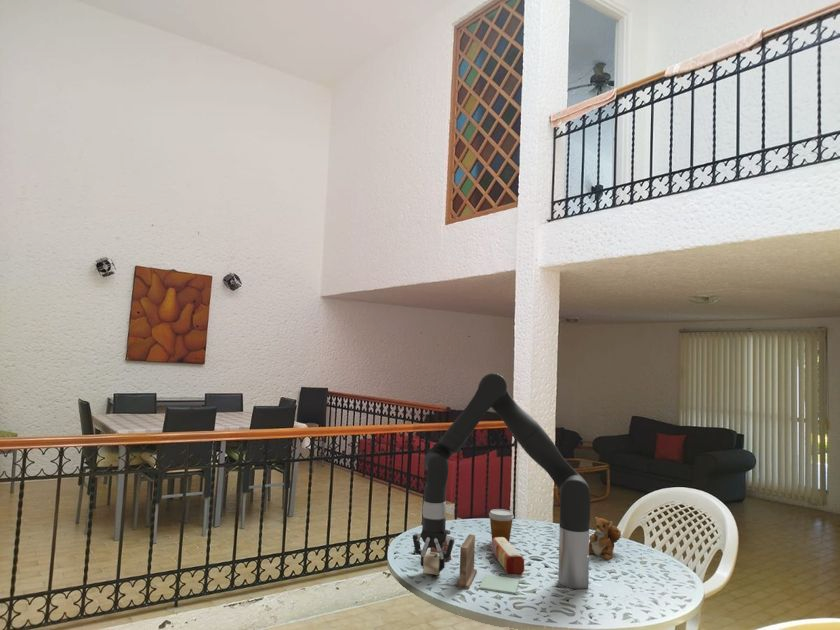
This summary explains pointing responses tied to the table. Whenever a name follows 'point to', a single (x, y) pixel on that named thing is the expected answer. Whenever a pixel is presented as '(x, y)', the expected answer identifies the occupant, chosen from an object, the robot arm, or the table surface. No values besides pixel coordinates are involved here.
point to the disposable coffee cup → (501, 523)
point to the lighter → (443, 546)
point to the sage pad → (499, 584)
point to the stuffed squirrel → (603, 538)
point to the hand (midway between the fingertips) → (432, 568)
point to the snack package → (507, 556)
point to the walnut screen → (467, 563)
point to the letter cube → (431, 563)
